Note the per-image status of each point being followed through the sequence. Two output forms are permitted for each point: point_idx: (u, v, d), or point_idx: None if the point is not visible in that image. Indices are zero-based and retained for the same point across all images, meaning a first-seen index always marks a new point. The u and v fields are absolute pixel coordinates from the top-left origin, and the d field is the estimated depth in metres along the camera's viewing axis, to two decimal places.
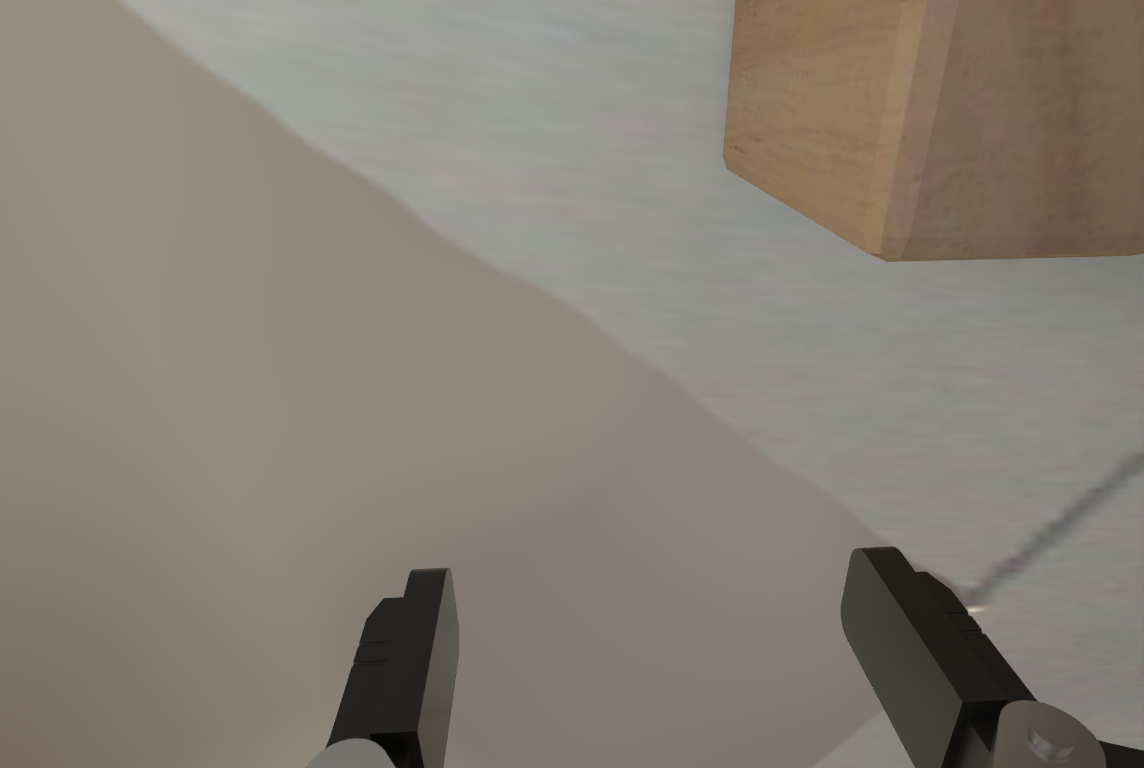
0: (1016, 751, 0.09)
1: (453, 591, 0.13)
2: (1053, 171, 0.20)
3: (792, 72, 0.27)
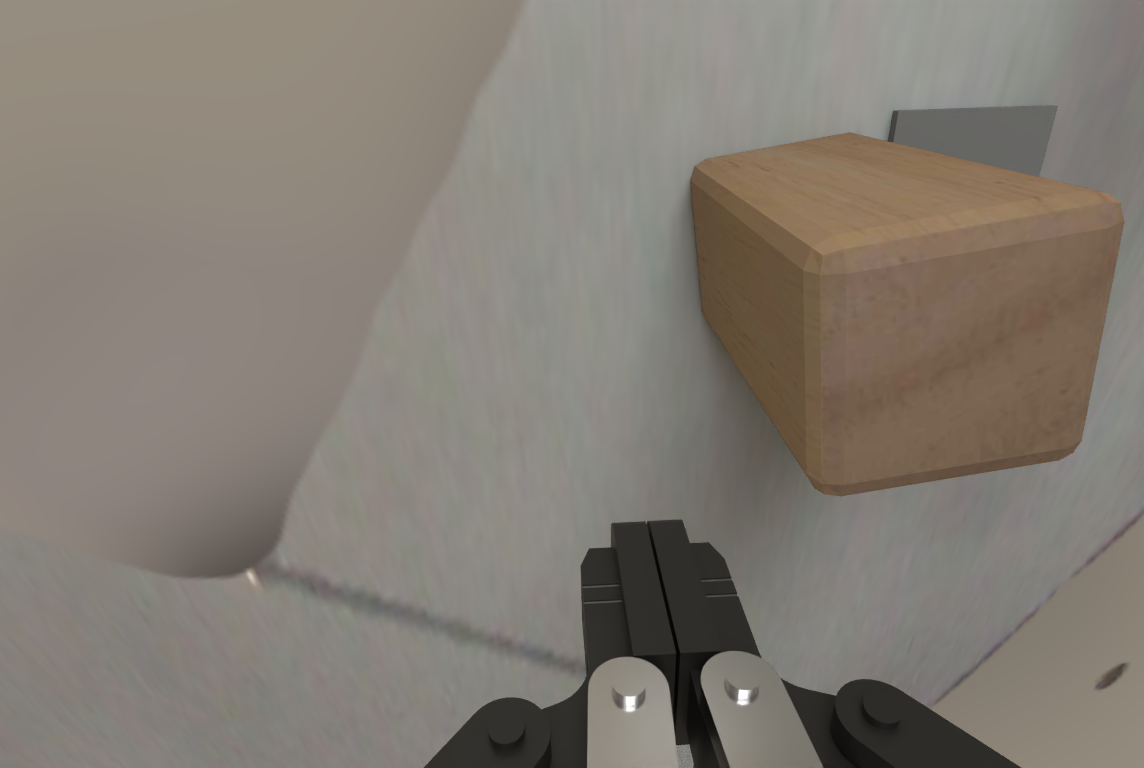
0: (727, 713, 0.10)
1: None
2: (901, 375, 0.22)
3: (860, 170, 0.28)
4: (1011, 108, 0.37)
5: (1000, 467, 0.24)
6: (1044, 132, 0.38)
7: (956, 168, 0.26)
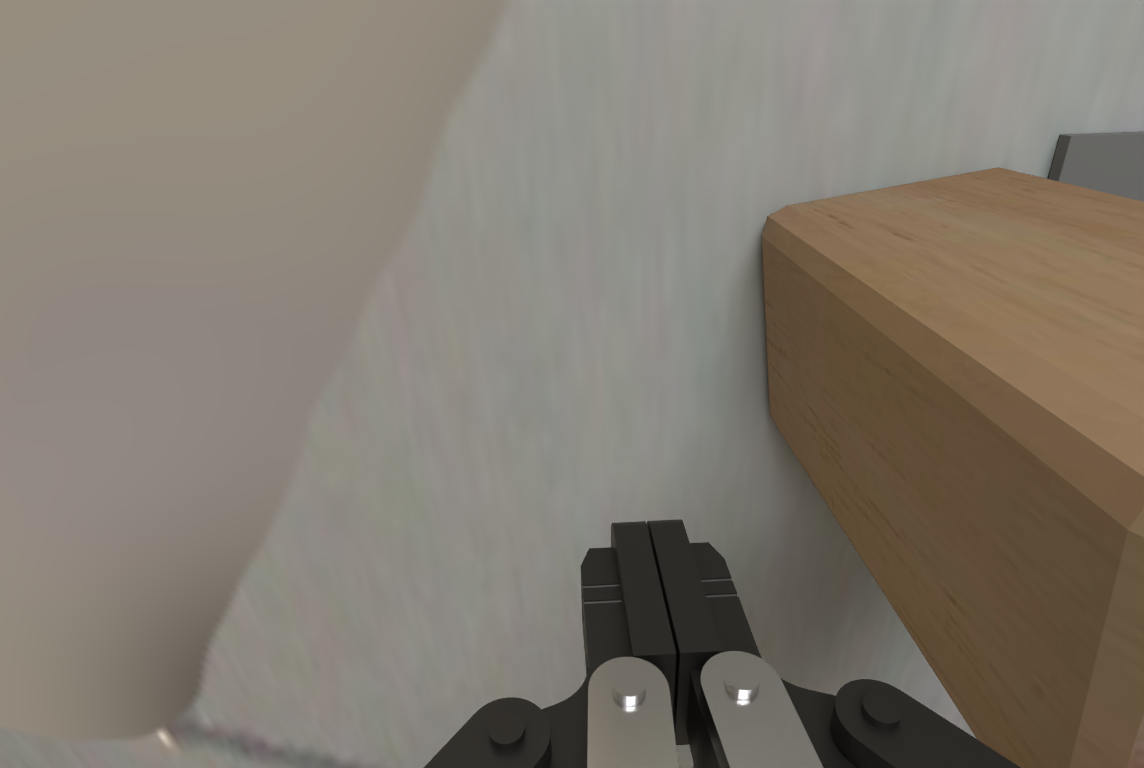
0: (727, 713, 0.10)
1: None
2: None
3: (1094, 251, 0.17)
4: None
5: None
6: None
7: None
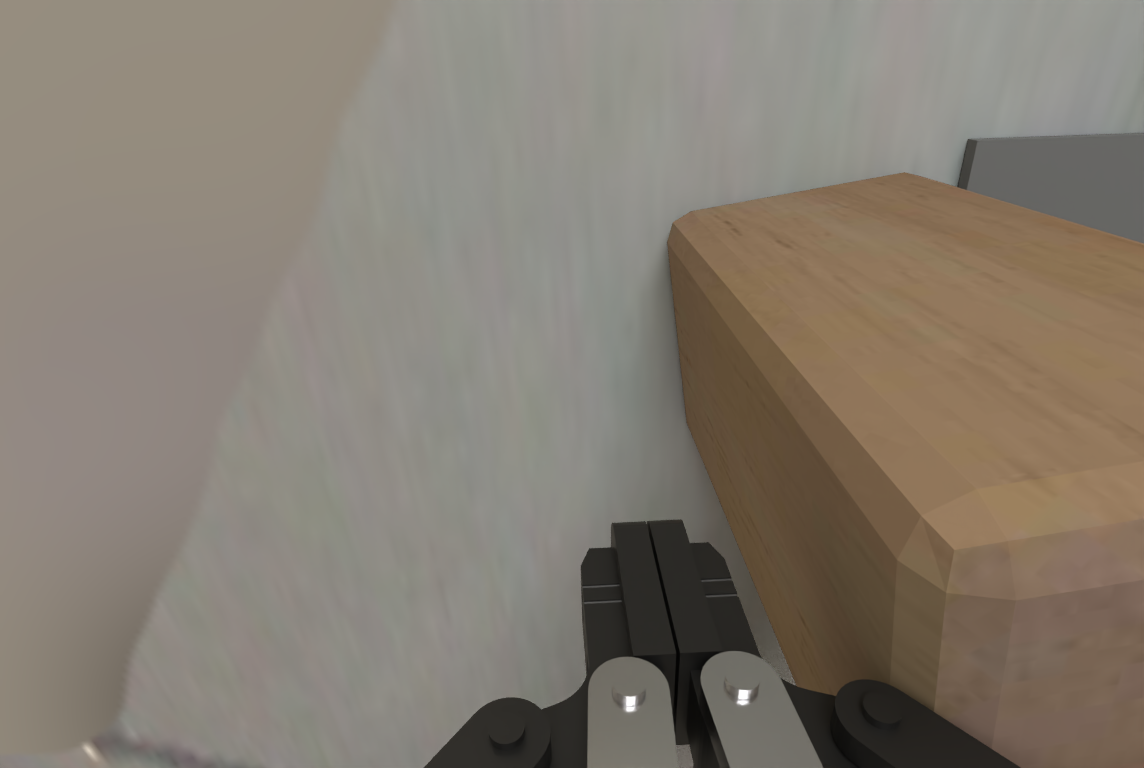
0: (727, 713, 0.10)
1: None
2: None
3: (956, 260, 0.16)
4: None
5: None
6: None
7: None
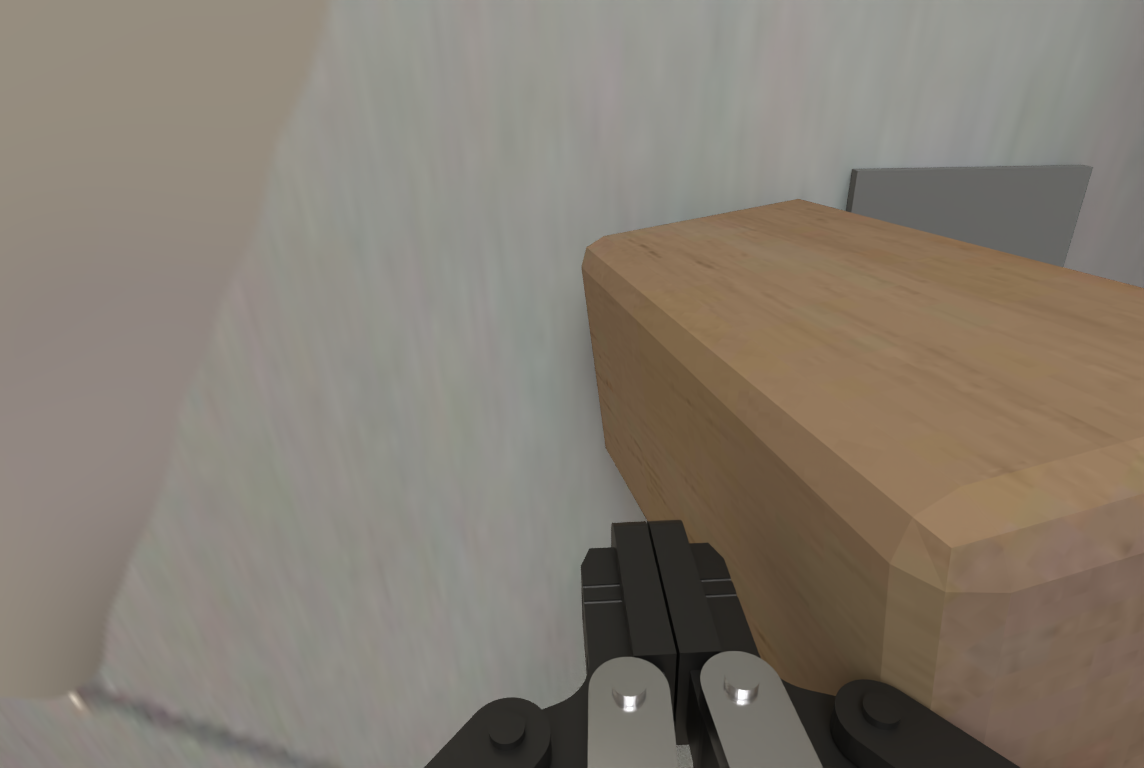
0: (727, 713, 0.10)
1: None
2: (1081, 752, 0.10)
3: (871, 275, 0.17)
4: (1023, 169, 0.26)
5: None
6: (1073, 203, 0.27)
7: (1047, 281, 0.15)
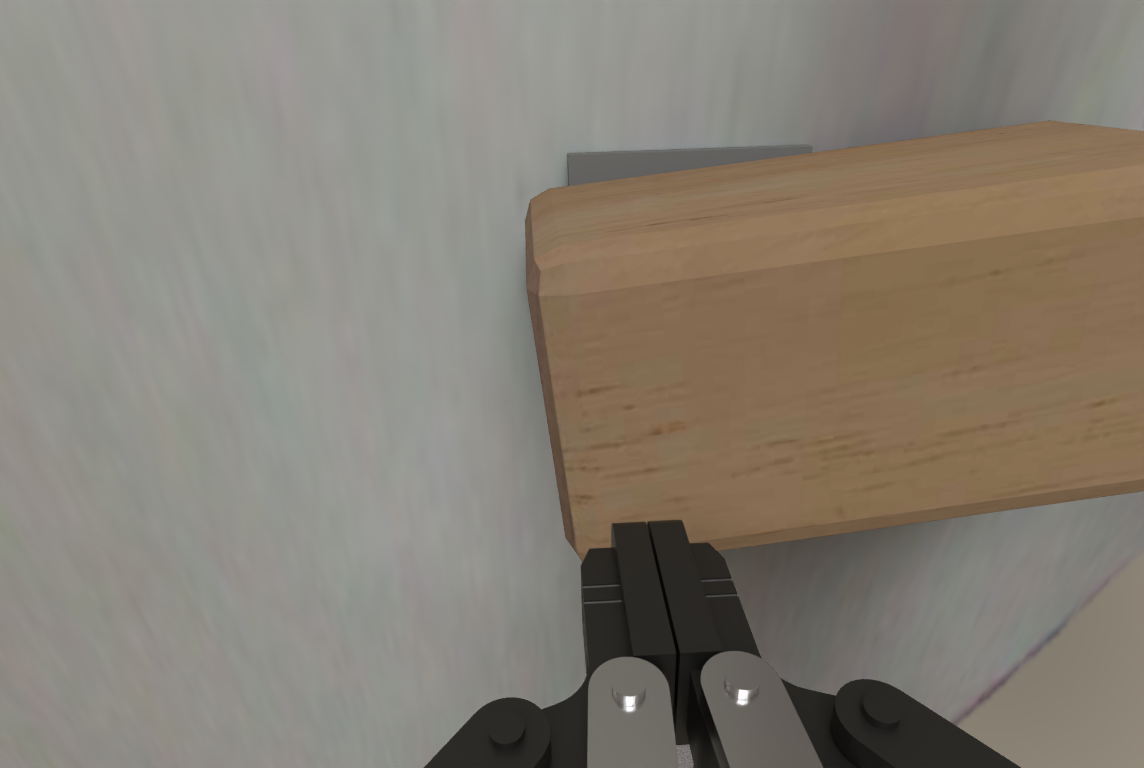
0: (727, 713, 0.10)
1: None
2: None
3: (868, 166, 0.21)
4: (741, 150, 0.25)
5: None
6: None
7: (907, 145, 0.23)
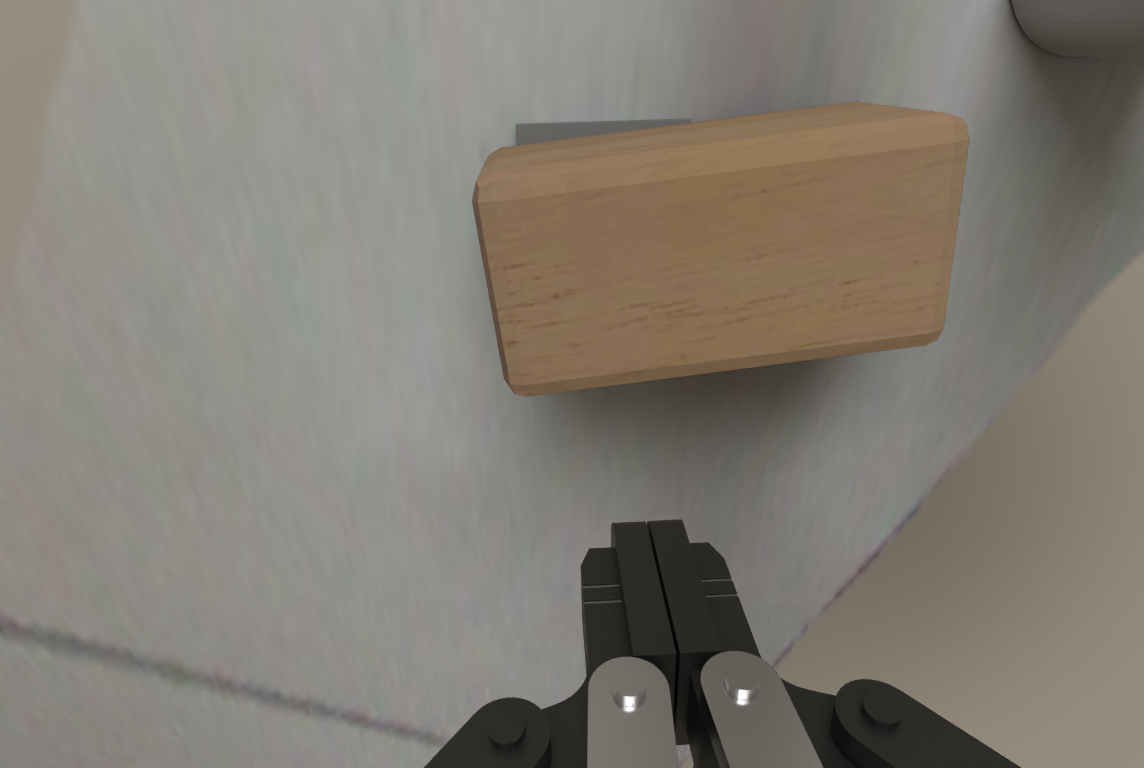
0: (727, 713, 0.10)
1: None
2: None
3: (710, 129, 0.30)
4: (640, 122, 0.34)
5: None
6: None
7: (750, 117, 0.33)
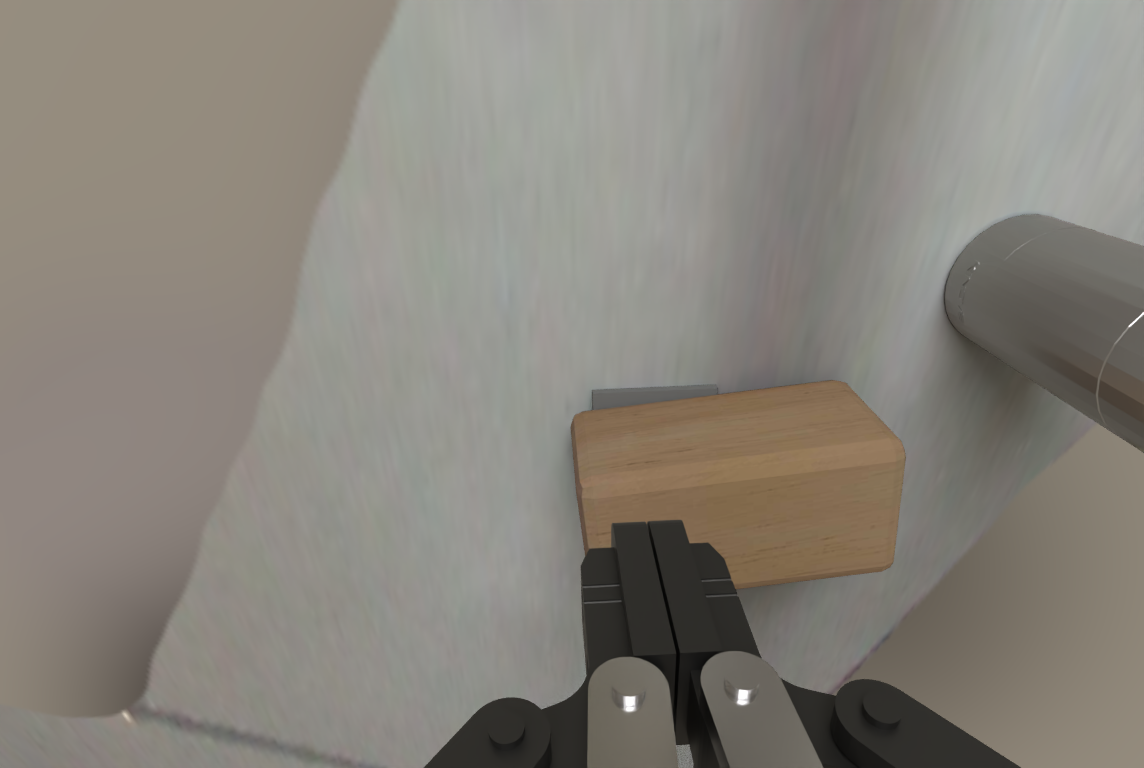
0: (727, 713, 0.10)
1: None
2: None
3: (733, 419, 0.44)
4: (681, 390, 0.48)
5: None
6: None
7: (760, 397, 0.46)
